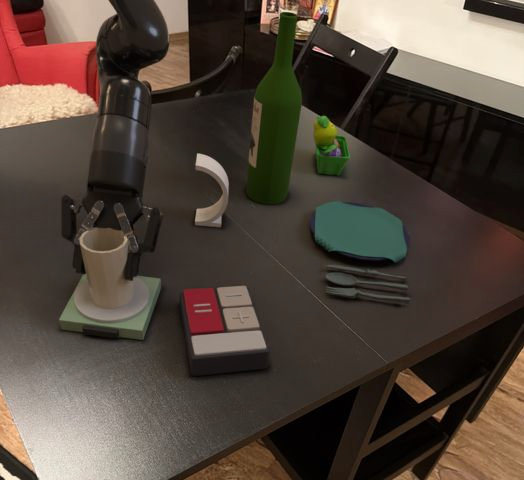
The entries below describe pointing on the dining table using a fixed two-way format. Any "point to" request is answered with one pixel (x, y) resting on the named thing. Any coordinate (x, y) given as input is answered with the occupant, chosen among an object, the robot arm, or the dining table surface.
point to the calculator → (222, 331)
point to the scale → (112, 311)
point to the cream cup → (106, 266)
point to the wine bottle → (275, 122)
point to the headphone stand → (214, 212)
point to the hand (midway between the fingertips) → (105, 276)
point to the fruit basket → (329, 147)
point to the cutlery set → (360, 243)
